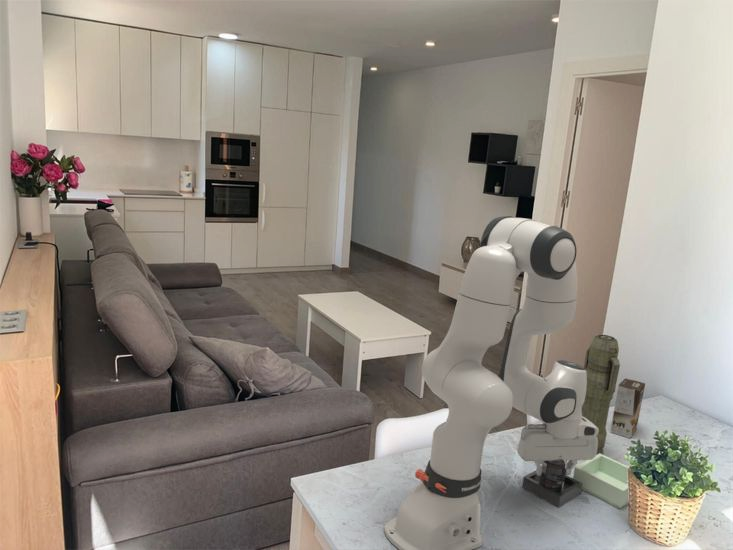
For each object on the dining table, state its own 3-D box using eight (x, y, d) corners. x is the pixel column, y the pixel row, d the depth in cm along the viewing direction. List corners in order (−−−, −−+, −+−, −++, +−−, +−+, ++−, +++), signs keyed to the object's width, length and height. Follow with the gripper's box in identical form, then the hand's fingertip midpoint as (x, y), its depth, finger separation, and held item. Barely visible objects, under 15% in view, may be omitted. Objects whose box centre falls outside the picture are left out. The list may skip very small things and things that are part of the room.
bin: (620, 509, 141) (623, 490, 140) (572, 484, 151) (574, 467, 150) (643, 492, 150) (647, 475, 149) (596, 469, 159) (599, 453, 158)
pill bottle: (567, 490, 147) (573, 450, 145) (555, 498, 143) (562, 456, 141) (546, 480, 151) (552, 440, 149) (534, 487, 147) (540, 446, 145)
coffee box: (631, 439, 180) (640, 391, 176) (609, 432, 183) (618, 385, 180) (637, 429, 187) (645, 383, 184) (616, 422, 191) (624, 377, 187)
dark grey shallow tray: (558, 507, 140) (560, 496, 139) (522, 487, 147) (523, 476, 147) (580, 493, 147) (582, 483, 146) (544, 475, 154) (546, 464, 154)
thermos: (591, 462, 163) (611, 345, 156) (561, 442, 174) (579, 331, 166) (613, 457, 167) (634, 342, 160) (583, 438, 177) (601, 330, 170)
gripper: (528, 430, 138) (520, 482, 141) (604, 429, 142) (595, 479, 145) (517, 418, 144) (509, 468, 147) (590, 417, 148) (582, 466, 151)
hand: (553, 474), depth 146 cm, fingers closed on pill bottle, 6 cm apart
